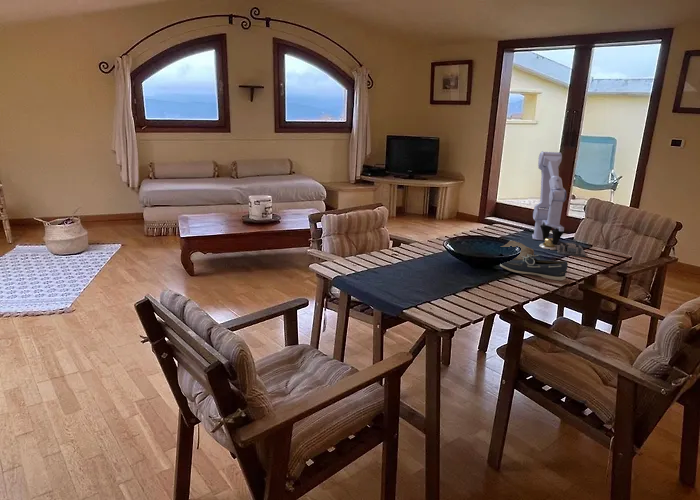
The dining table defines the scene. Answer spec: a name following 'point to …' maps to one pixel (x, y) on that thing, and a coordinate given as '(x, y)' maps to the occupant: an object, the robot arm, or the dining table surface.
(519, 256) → the artifact
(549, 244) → the cap
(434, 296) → the dining table surface
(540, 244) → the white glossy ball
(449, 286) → the dining table surface
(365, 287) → the dining table surface
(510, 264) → the boat shoe
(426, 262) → the dining table surface
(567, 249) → the post base
